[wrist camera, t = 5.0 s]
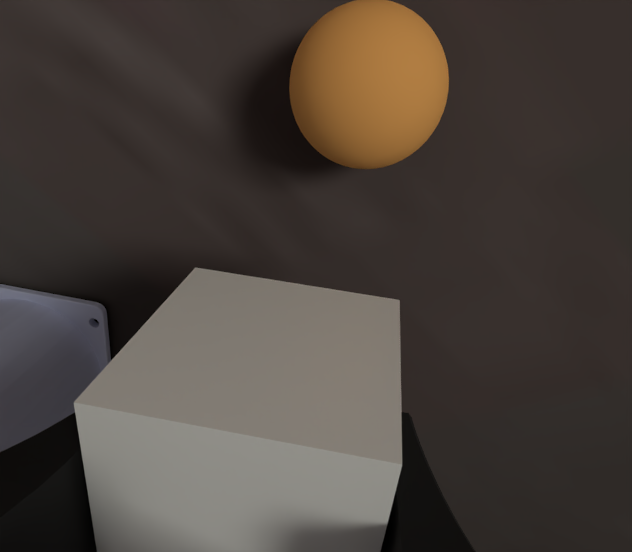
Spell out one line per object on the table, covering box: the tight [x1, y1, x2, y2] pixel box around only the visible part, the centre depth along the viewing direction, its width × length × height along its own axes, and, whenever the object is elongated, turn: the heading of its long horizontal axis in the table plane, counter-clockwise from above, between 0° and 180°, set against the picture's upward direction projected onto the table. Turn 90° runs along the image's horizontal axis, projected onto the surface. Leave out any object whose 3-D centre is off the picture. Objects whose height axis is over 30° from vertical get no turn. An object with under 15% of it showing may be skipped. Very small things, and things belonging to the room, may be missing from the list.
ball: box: [289, 0, 449, 169], centre depth 15 cm, size 5×5×5 cm
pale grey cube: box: [74, 268, 402, 552], centre depth 13 cm, size 6×6×6 cm
